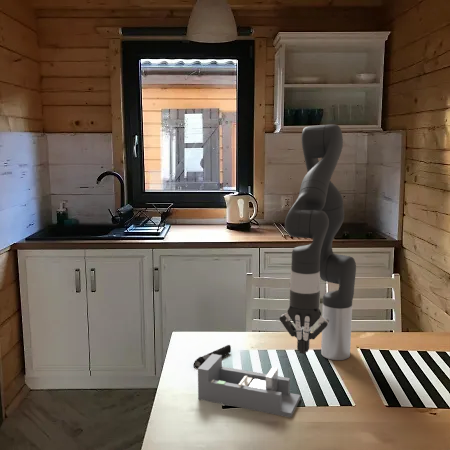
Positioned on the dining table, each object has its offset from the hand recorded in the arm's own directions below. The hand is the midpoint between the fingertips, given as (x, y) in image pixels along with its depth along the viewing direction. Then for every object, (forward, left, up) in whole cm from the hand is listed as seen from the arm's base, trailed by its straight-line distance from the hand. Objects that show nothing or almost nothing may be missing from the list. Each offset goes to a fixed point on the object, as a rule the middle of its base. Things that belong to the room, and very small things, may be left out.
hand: (303, 352), depth 138 cm
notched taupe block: (0, -11, -15) cm, 18 cm away
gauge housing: (0, -15, -16) cm, 22 cm away
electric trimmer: (-19, -33, -17) cm, 42 cm away
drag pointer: (+1, -16, -15) cm, 21 cm away
